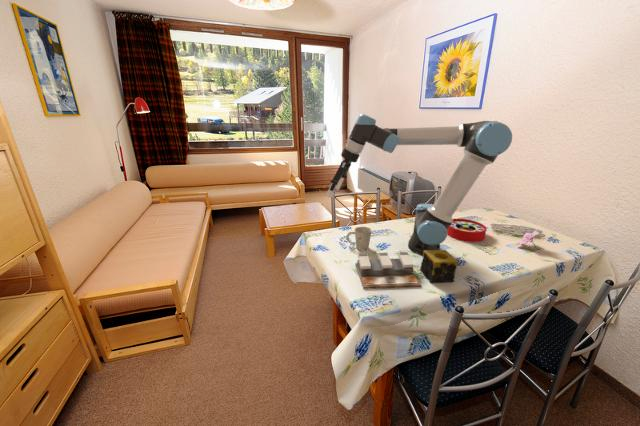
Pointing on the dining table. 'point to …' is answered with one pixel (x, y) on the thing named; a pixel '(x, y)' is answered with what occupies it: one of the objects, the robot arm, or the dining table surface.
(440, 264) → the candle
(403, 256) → the block
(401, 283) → the switch board
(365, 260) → the block
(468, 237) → the toy clock
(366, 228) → the mug
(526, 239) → the lily
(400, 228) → the dining table surface
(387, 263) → the rocker middle
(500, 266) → the dining table surface
